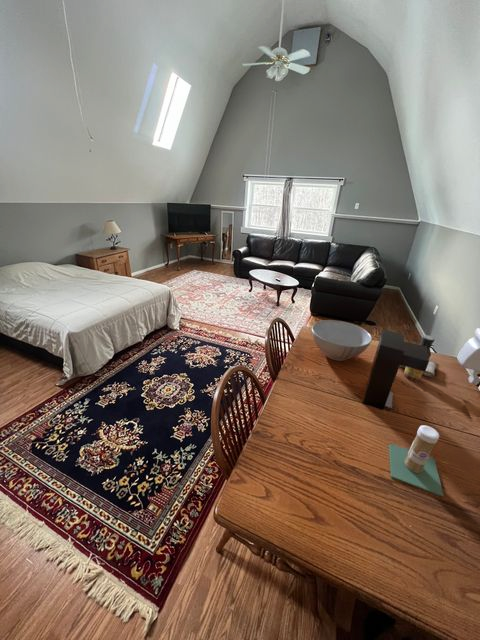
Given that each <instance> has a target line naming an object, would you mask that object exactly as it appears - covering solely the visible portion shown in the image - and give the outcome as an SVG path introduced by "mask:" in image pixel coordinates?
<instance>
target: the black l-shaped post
mask: <svg viewBox="0 0 480 640" xmlns="http://www.w3.org/2000/svg"><path fill="white" fill-rule="evenodd" d="M429 361H430V358H429V357H428V352H427V347H426V346H422V345H420V344H419V343H418V344H417V343H414V342H410V341H405V334H404V333H401V332H395V331H391V330H388V329H382V331H381V335H380V338H379V341H378V344H377V347H376V350H375V354H374V357H373V360H372V364H371V367H370V371H369V374H368V377H367V380H366V384H365V390H364V395H363V400H362V404H363V405H365V406H368V407H371V408H374V409H377V410H380V411H385V409H387V410H390V411H391V410H392V409H393V395H394V393H393V392H392V391H391V390H392V388H393V385H394V382H395V379H396V376H397V374H398V371H399V369H400V366H399V365H403V366H406V367H410V368H413V369H417V370H421V371H424V372H425V371H426V368H427V366H428V363H429Z"/></svg>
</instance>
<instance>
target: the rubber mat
mask: <svg viewBox="0 0 480 640" xmlns="http://www.w3.org/2000/svg"><path fill="white" fill-rule="evenodd" d="M409 450H410V449H408V448H404V447H402V446H400V445H399V446H398V445H396V444H393V443H388V453H389V467H390V468H389V469H390V477H391V478H392V479H394V480H397V481H399V482H402V483H405V484H408V485H410V486H413V487H416V488H418V489H420V490H423V491H426V492H428V493H431V494H434V495H436V496H439V497H442V498H444V492H443V488H442V484H441V479H440V475H439V471H438V467H437V463H436V459H435V458H434V457H432V456H429V458H428V460H427V462H426V464H425V465H424V467H423V471H422V472H420V473H416V472H413V471H411V470H410V469H408V468H407V466H406V465H405V459H406V458H407V456H408V452H409Z"/></svg>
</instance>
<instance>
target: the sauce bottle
mask: <svg viewBox="0 0 480 640" xmlns="http://www.w3.org/2000/svg"><path fill="white" fill-rule="evenodd" d="M435 340H436V339H435V338H434V337H433V336H431V335H429V334H428V335H427V334H424V335H423V336H422V337H421V340H420V343H419V345H422V346H426V347H427V352H428V357H429V359H430V358H431V356H432V352H431V348H432V345H433V344H434V342H435ZM403 375H404V377H405V378H406V379H408V380H410V381H413V382H416V381H419V380H421V378H422V376H423V371H421V370H417V369H413V368H410V367H406V368H404V372H403Z"/></svg>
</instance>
